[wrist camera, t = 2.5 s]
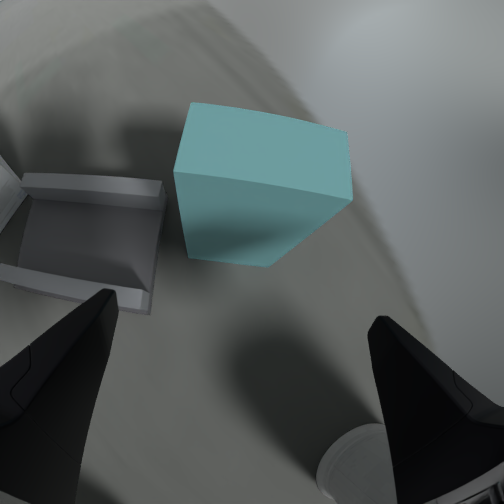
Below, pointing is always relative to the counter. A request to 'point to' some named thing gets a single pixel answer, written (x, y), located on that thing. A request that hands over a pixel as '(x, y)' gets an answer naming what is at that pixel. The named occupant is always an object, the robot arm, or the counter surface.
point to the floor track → (90, 238)
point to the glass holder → (359, 468)
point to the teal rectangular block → (256, 182)
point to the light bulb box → (9, 193)
